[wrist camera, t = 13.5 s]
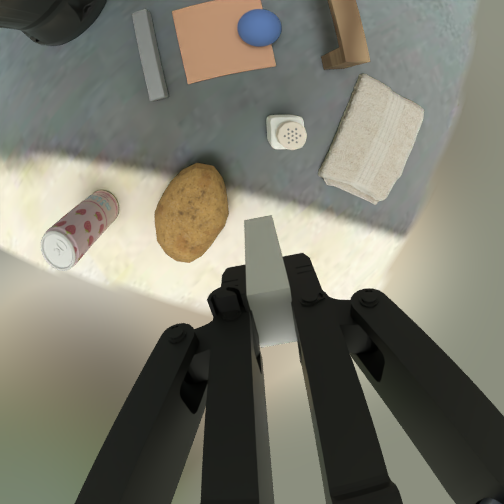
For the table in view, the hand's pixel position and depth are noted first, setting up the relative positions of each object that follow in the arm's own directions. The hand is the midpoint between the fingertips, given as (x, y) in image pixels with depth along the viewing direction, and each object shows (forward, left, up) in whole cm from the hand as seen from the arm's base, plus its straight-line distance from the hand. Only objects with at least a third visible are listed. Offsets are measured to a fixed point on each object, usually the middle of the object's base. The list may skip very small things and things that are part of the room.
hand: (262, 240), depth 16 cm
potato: (+5, -9, -27) cm, 29 cm away
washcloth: (0, +18, -27) cm, 33 cm away
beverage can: (+2, -24, -27) cm, 36 cm away
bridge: (-18, +14, -26) cm, 35 cm away
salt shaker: (-3, +5, -27) cm, 27 cm away
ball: (-18, +5, -24) cm, 30 cm away
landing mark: (-18, 0, -26) cm, 32 cm away
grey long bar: (-18, -10, -26) cm, 33 cm away
